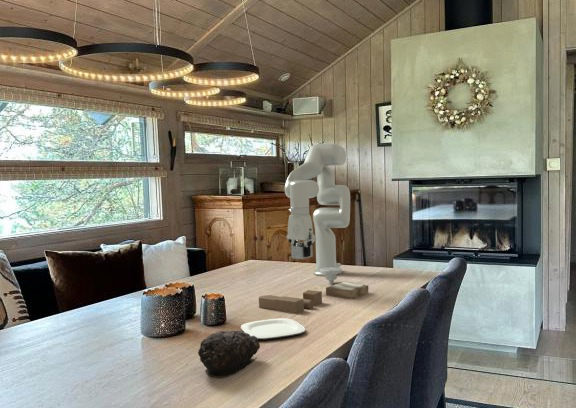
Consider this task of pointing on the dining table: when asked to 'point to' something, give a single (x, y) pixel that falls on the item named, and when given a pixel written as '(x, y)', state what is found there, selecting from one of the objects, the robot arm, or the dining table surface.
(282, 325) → the plate
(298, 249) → the housing
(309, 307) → the wooden block set
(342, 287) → the stand
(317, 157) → the robot arm
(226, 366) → the pine cone
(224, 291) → the dining table surface
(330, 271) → the showerhead
